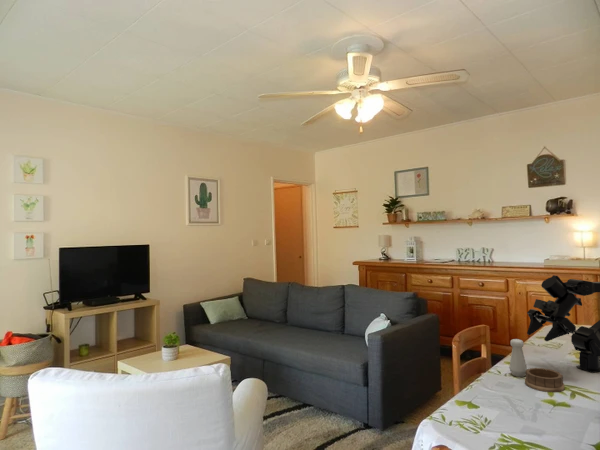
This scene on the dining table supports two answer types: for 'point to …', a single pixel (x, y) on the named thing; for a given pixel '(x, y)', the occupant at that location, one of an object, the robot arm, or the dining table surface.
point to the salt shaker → (517, 359)
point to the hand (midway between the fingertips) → (536, 337)
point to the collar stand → (544, 380)
